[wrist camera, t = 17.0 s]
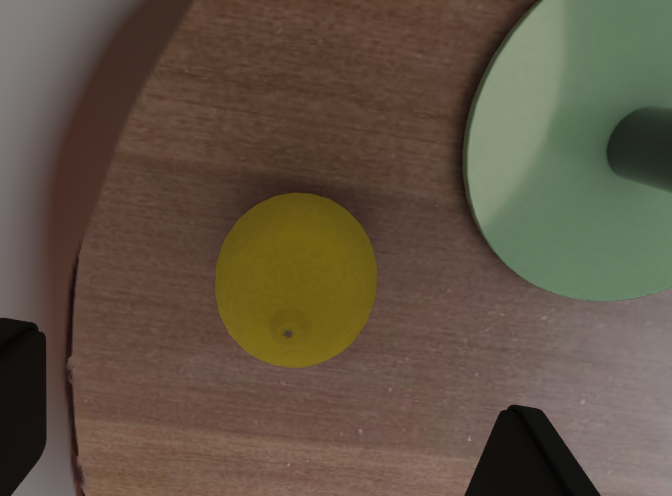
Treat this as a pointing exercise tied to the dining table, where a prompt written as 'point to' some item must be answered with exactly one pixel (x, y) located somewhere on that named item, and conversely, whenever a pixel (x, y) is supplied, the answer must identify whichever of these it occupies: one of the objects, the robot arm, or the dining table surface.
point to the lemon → (296, 280)
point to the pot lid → (578, 148)
